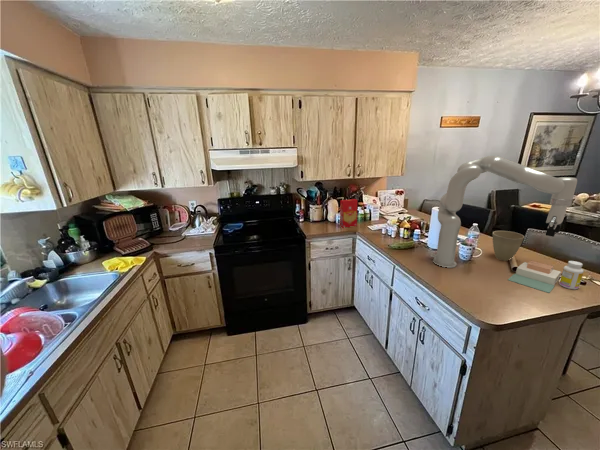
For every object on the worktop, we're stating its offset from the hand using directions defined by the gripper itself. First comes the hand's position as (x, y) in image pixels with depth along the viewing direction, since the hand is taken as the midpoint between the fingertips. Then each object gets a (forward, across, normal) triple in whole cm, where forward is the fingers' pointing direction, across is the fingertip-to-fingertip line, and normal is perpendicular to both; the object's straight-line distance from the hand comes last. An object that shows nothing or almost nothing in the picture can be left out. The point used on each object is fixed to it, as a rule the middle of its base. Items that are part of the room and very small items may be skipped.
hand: (552, 233), depth 131 cm
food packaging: (+22, +18, -131) cm, 134 cm away
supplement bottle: (+23, +10, +12) cm, 27 cm away
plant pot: (+22, -4, -19) cm, 30 cm away
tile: (+18, +8, 0) cm, 20 cm away
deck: (+22, +9, 0) cm, 24 cm away
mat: (+22, +20, 0) cm, 30 cm away
